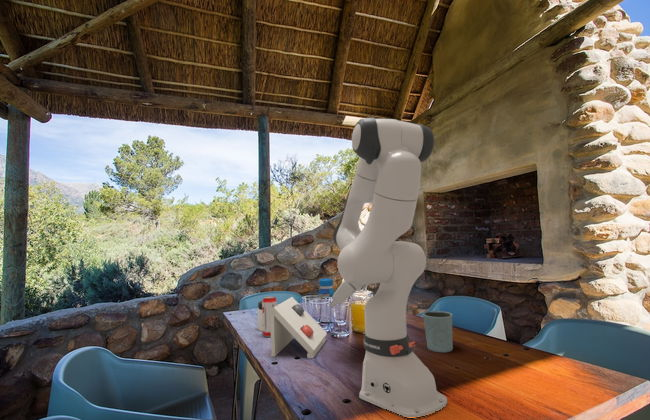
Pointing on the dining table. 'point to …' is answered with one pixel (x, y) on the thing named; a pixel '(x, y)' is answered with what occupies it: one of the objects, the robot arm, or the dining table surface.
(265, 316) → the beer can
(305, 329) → the red button
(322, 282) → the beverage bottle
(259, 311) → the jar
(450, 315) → the grey green cup
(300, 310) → the charcoal button
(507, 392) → the dining table surface
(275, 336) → the console
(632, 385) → the dining table surface
